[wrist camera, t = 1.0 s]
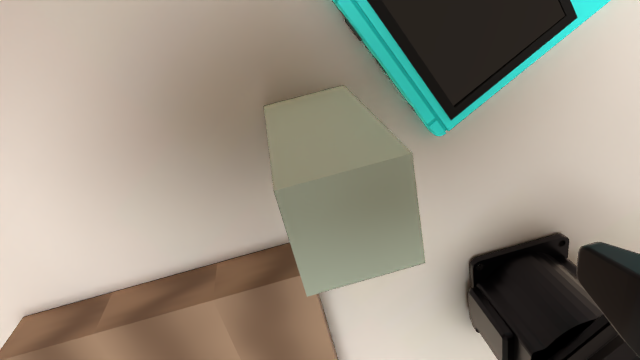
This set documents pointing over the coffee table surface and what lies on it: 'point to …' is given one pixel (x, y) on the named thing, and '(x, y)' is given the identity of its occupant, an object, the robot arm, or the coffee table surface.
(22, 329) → the walnut well block
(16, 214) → the coffee table surface
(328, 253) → the sage peg
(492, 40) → the handheld game console
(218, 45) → the coffee table surface
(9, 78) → the coffee table surface
